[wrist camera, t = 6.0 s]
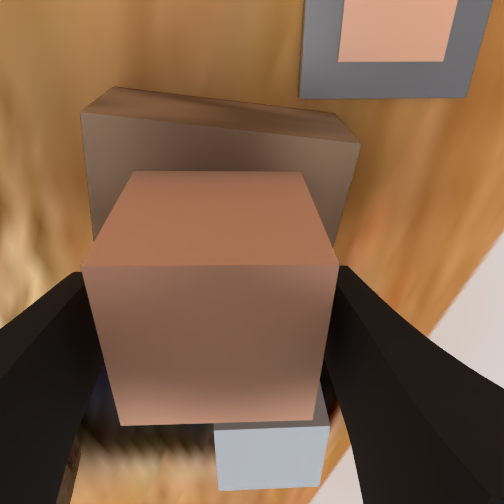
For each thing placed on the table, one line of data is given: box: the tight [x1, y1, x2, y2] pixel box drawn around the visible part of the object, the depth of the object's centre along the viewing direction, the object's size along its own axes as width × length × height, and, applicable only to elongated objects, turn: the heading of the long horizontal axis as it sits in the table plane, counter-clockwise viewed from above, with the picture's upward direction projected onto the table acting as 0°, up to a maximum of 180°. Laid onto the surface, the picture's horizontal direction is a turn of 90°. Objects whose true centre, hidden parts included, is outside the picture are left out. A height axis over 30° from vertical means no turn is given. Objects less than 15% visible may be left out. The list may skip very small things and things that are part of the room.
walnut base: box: [80, 87, 362, 248], centre depth 15 cm, size 8×8×4 cm
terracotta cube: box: [80, 171, 340, 426], centre depth 11 cm, size 5×5×5 cm
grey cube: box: [214, 380, 330, 491], centre depth 20 cm, size 5×5×5 cm
